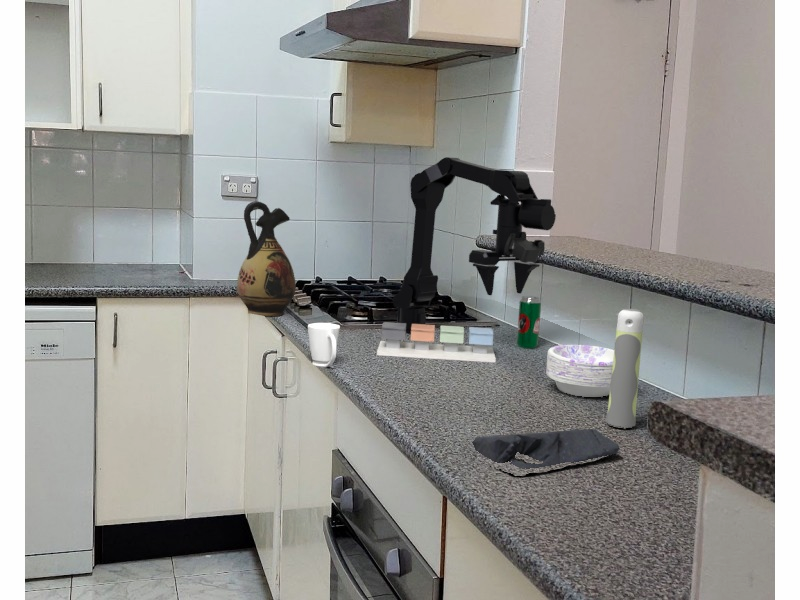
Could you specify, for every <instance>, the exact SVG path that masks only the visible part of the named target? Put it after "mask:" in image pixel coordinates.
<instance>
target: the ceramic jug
mask: <svg viewBox="0 0 800 600" xmlns="http://www.w3.org/2000/svg"><path fill="white" fill-rule="evenodd" d="M255 210H260V211H262V213H263V214H262V215H261V216H259V218H258V220H257V221H255V222H256V223H255V225H256V226H257V227H259V228H261V232H260V233H259V236H258V237H257V234H256V232H255V230H254V226H253V223H252V216H251V214H252V212H253V211H255ZM290 220H291V219H290V217H289V215H288V214H287V213H286V212H285V210H283V209H281V208H280V207H277V208H274V209H273V210H272V211H270V208H269V207H268V205H267V204H265V203H264V202H262V201H258V200H257V201H256V200H254V201H251V202H249V203H248V204H247V205H246V206H245V208H244V211H243V221H244V223H245V227H246V229H247V235H248V236H249V241H250V244H249V248H248V253H247V255H246V257H245V259H244V260H243V262H242V264H241V266H240V269H239V273H238V276H237V284H236V287H237V288H236V289H237V293H238V296H239V299H240V300H241V301H242V302H243V304H244V305H245V307H246V308H247V314H250V315H251V314H252V315H257V316H262V317H282V316H283V315H284V314H285V313H284V312H285V311H286V309H287V306H289V304H290V303H291V301H292V300H293V299H294V295H295V294H296V287H297V284H296V277H295V272H294V269H293V266H292V264H291V261H290V259H289V257H288V255H287V254H286V252H285V250H284V249H283V247H282V246H281V244H280V243H279V241H278V239H277V238H276V237H275V236H276V235H275V228H277V226H280V225H282V224H284V223H286V222H289V221H290Z"/></svg>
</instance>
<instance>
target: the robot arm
mask: <svg viewBox="0 0 800 600" xmlns="http://www.w3.org/2000/svg"><path fill="white" fill-rule="evenodd" d="M456 177H457V178H459V179H460V178H461V179H465V180H468V181H471V182H475V183H476V184H477V183H478V184H482V185H484V186H486V187H488V188H489V189H490V190H491V191H493V192H495V193H496V194H497V195H496V196H495V197H494V198H493V199H492V200H491V201H490V203H489V204H490V205H493V206H498V207H497V220H496V222H497V223H496V229H492V235H495V246H494V247H493V246H492V247H491V250H488V249H487V250H486V249H472V250H471V251H470V253H469V255H468V262H469V263H472V266H473V267H475V268H476V270H477V272H478V274H479V277H480V278H481V281H482V283H483V287H484V289H485V292H486V295H488V296H492V295H493V291H494V283H495V274H496V272H497V270H498V269H499V268H500V266H498V265H497V264H499V262H505V261H507V262H509V261H510V262H512V261H514V262H513V266H514V279H515V290H516V293H517V294H522V292H523V290H524V288H525V285H526V284H527V281H528V279H529V276H530V274H531V273H532V271H534V270H535V269H537V268H539V267H540V263H539V262H536V261H537V259H538V256H541V255H543V254H544V255H545V247H546V246H545V245H546V243H545V241H543V240H542V239H535V240H534V241H532V240H527V232H526V231H523V228H525V229H532V230H539V231H540V230H541V231H550V230H551V229H552V228H553V226H554V225H555V222H556V217H557V216H556V215H557V214H556V212H555V209H554V207H553V205H552V199H551V198H538V197H537V194H536V192H535V190H534V189H533V187H532V184H531V181H530V178H529V175H528V174H527V172H525V171H522V170H505V169H495V168H491V167H489V166H483V165H480V164H477V163H474V162H470V161H466V160H463V159H462V160H461V159H460V158H459V157H450V156H449V157H448V156H447V157H443V158H442V159H440V160H439V161H438V162H436V163H435V164H433V165H431V166H429V167H427V168H425V169H424V170H422V171H421V172H418V173H416V174H414V176H413V177H411V180H410V186H409V187H410V199H411V201H412V203H413V206H414V208H415V209H414V210H415V213H414V214H415V215H414V225H413V237H412V250H411V259H410V267H409V268H408V270H407V271H406V273H405V275H404V277H403V281H402V285H401V289H400V290H399V291H398V292H397V293H396V294H395V295H394V296H393V297H392V299H391V300H392V304H393V307H394V308H397V317H396V318H397V320H396V321H397V322H396V323H406V334H407V333H408V334H411V327H412V324H425V325H427V324H426V323H427V322H426V321H427V320H426V319H427V314H426V308H427V307H430V305H431V302H432V300H433V299H434V297H435V296H436V292H438V283H439V282H438V280H439V276H438V275H437V274H436V275H435V274H434V273H433V271H432V268H431V267H432V266H431V265H432V255H433V254H432V252H433V242H434V233H435V230H434V229H435V221H436V211H437V209H438V207H440V204H441V203H442V201H443V199H444V193H445V189H446V188H448V187H449V186H450V185H452V183H453V182H454V179H455V178H456Z"/></svg>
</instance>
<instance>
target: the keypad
mask: <svg viewBox="0 0 800 600" xmlns="http://www.w3.org/2000/svg"><path fill="white" fill-rule="evenodd" d="M443 343H444V344H439V343H430V341H415V342H404V341H401V340H397V339H386V340H380V342H379V344H378V347H377V350H376V356H384V357H398V358H399V357H400V358H416V359H418V358H419V359H431V360H432V359H435V360H447V361H449V360H450V361H463V362H482V363H496V361H497V358H496V355H495V352H494V349H493V348H494V347H491V346H488V345H480V344H472V346H471V345H459V343H447V342H443Z"/></svg>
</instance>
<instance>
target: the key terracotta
mask: <svg viewBox="0 0 800 600" xmlns="http://www.w3.org/2000/svg"><path fill="white" fill-rule="evenodd" d="M435 326H436V325H435V324H412V327H411V333H410V341H415V342H416V341H429V343H431V342H433V343H434V342H435V329H436V327H435Z"/></svg>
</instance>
